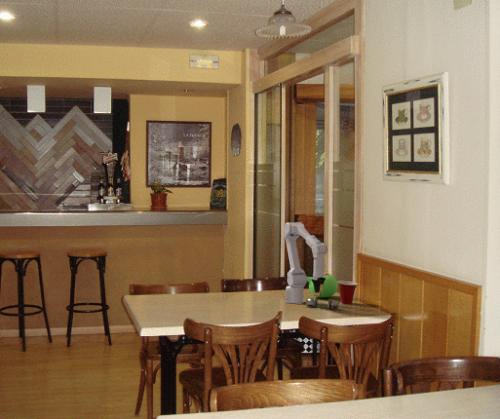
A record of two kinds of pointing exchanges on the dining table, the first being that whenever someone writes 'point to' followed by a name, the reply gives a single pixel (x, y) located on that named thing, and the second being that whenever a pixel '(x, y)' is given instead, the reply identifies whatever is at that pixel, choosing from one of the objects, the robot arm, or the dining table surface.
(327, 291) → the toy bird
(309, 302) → the grey metal fittings
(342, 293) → the plastic cup
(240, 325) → the dining table surface
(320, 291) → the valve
